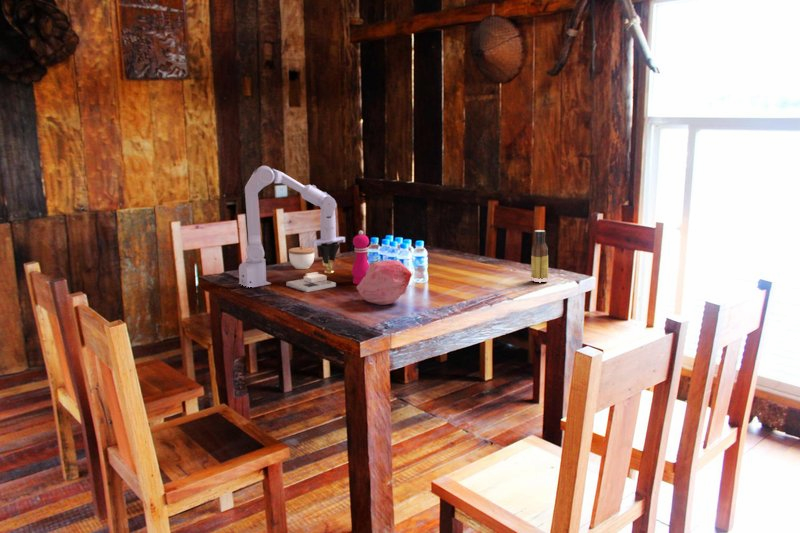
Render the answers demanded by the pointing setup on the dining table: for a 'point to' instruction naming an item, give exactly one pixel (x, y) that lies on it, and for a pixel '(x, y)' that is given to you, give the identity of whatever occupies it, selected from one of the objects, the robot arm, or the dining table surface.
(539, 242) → the sauce bottle
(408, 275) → the decorative rock
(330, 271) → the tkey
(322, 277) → the cream flat block
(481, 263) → the dining table surface
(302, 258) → the lidded jar
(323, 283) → the panel
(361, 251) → the pepper mill
